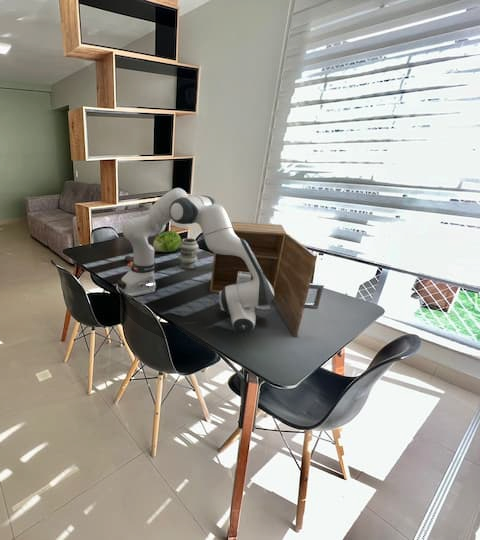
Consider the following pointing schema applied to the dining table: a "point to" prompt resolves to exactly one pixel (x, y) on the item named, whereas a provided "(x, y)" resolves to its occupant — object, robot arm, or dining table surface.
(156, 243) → the lettuce
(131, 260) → the ice cream bar
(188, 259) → the ribbed grey vase
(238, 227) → the cabinet
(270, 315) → the dining table surface
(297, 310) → the cabinet door
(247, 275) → the syrup box
